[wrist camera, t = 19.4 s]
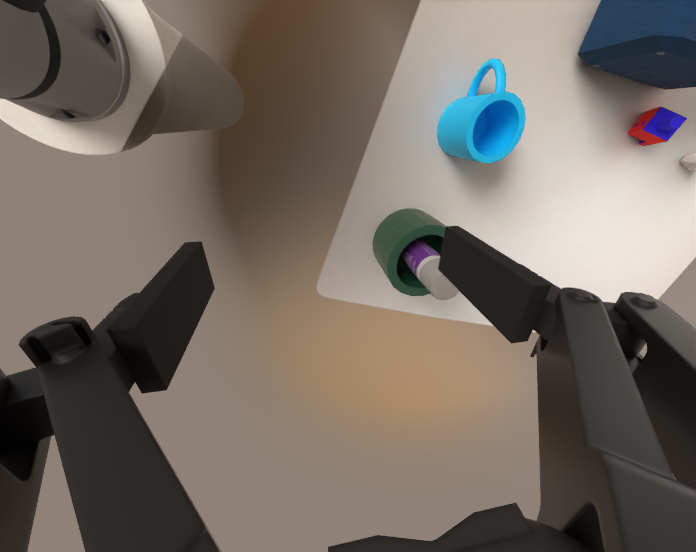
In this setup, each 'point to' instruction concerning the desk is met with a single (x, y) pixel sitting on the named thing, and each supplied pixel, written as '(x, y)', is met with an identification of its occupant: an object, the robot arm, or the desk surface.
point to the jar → (396, 237)
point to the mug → (483, 121)
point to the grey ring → (689, 161)
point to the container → (428, 269)
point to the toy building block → (656, 126)
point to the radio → (644, 41)
